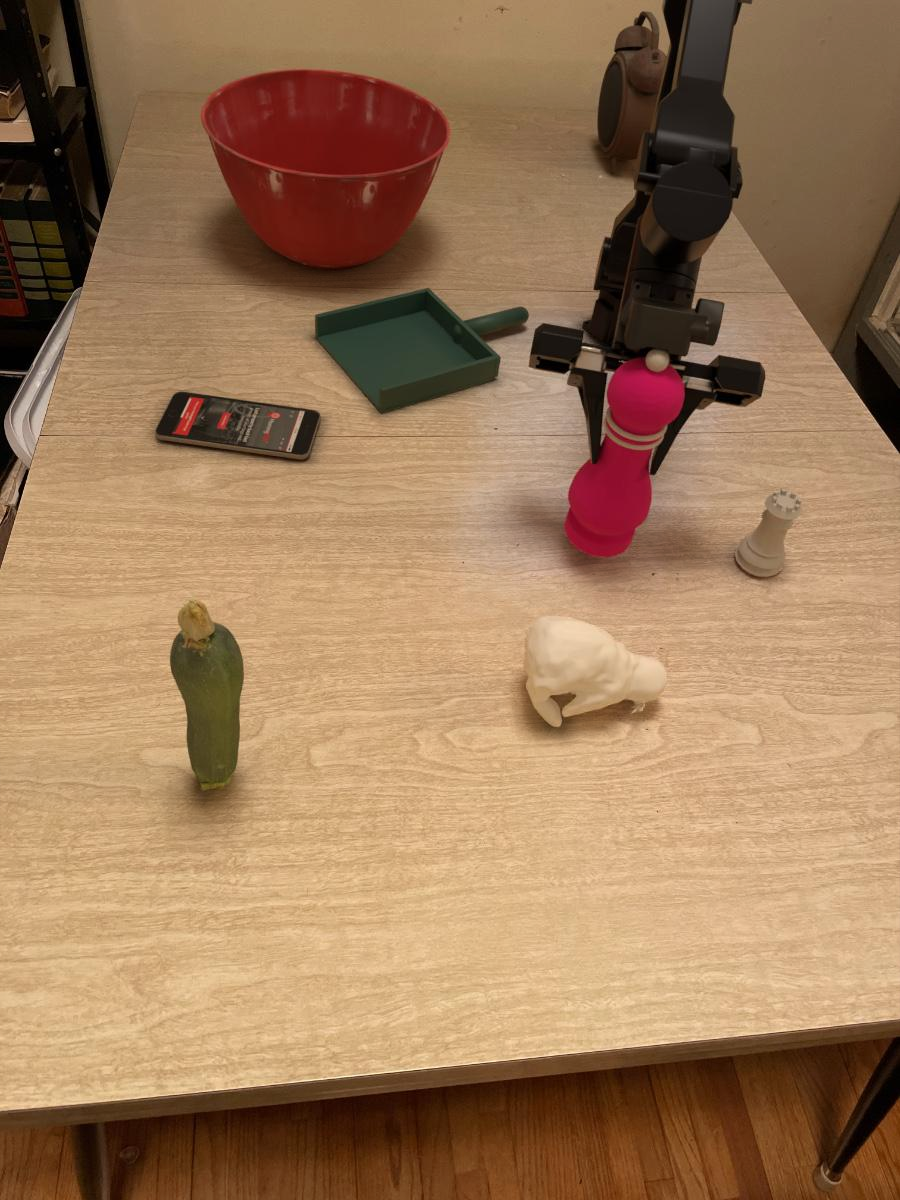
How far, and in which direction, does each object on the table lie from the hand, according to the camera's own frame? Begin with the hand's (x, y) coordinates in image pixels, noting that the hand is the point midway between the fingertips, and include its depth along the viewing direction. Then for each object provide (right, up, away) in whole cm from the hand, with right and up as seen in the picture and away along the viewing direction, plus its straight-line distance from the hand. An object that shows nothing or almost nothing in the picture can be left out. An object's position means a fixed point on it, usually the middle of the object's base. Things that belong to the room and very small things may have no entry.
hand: (622, 469), depth 80 cm
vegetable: (-31, -24, -10) cm, 40 cm away
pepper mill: (-1, -5, +8) cm, 9 cm away
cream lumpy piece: (-3, -19, -2) cm, 19 cm away
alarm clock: (+11, +56, +67) cm, 88 cm away
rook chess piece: (+14, -7, +10) cm, 19 cm away
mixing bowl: (-30, +34, +42) cm, 62 cm away
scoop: (-15, +17, +29) cm, 37 cm away
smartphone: (-35, +6, +16) cm, 39 cm away
